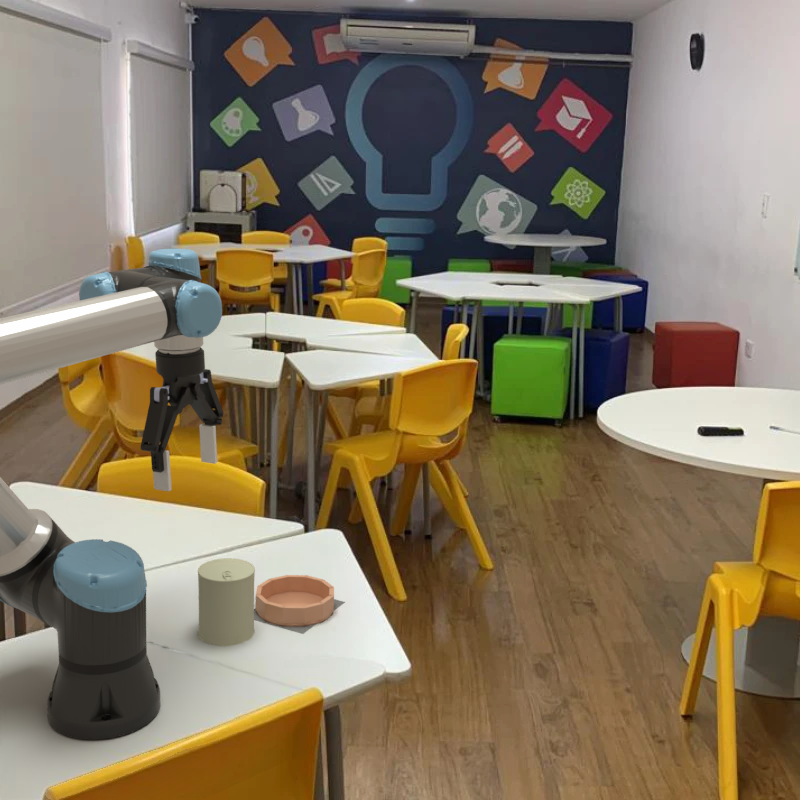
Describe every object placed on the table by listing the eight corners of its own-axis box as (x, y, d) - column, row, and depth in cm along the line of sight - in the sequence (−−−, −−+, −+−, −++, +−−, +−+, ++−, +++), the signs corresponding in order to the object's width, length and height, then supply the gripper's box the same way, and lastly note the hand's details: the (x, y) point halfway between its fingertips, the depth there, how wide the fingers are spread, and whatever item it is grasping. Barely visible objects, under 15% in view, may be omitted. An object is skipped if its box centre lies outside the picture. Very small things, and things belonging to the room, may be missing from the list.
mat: (303, 635, 161) (303, 633, 161) (242, 618, 166) (242, 616, 166) (345, 604, 173) (345, 602, 173) (287, 588, 178) (287, 586, 178)
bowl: (307, 633, 161) (308, 614, 160) (240, 614, 166) (240, 596, 165) (347, 603, 172) (347, 585, 171) (283, 586, 178) (284, 569, 177)
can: (199, 650, 155) (199, 580, 152) (195, 624, 163) (195, 557, 160) (258, 645, 157) (258, 576, 154) (251, 619, 166) (251, 553, 163)
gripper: (153, 369, 141) (162, 505, 147) (240, 334, 163) (245, 454, 169) (110, 364, 143) (120, 498, 149) (202, 331, 166) (208, 449, 172)
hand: (187, 475), depth 159 cm, fingers open, 13 cm apart
